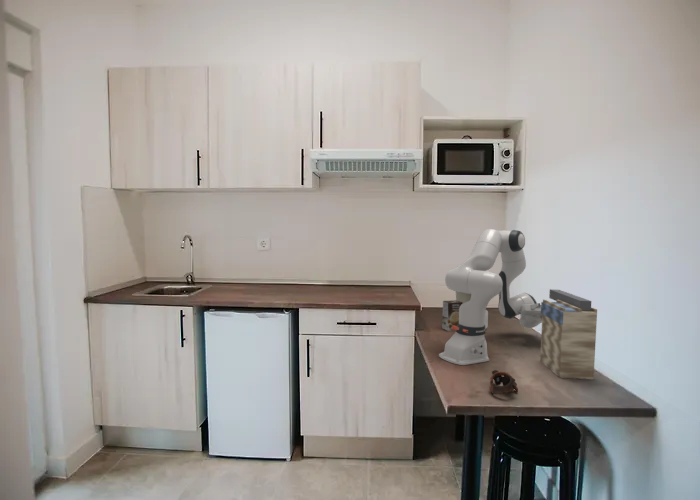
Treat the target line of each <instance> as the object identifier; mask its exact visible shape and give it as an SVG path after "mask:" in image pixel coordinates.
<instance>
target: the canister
mask: <svg viewBox="0 0 700 500" xmlns="http://www.w3.org/2000/svg"><path fill="white" fill-rule="evenodd" d="M470 299H471V294H468V293H461V292H456V291H455V300H457V301H460V302H463V303H465V302H467V301H470Z"/></svg>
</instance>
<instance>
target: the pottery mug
mask: <svg viewBox="0 0 700 500" xmlns="http://www.w3.org/2000/svg"><path fill="white" fill-rule="evenodd" d="M489 380H490V382H489V384H490V386H489V391H490V393H491V392H493V394H494V393H495V394H500V395H501V394H504V395H505V394H507V393H510V392H513V393H515V392H516V391H517V392H519V388H518V387H517V386H518V384H517V382H516V379H515V378H514V377H513V376H512V375H511V374H510V373H509V372H506V371H499V370H497V369H493V370H492V371H491V376H490V379H489ZM501 384H502V385H501ZM514 389H515V390H516V391H515V390H514Z"/></svg>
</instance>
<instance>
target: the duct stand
mask: <svg viewBox="0 0 700 500" xmlns="http://www.w3.org/2000/svg"><path fill="white" fill-rule="evenodd" d="M540 305H541V314H542V323H541V338H540V355H539V356H540V358H539V359H540V360H539V361H540V362H541V363H542V364H543V365H544V366H546V367H547V368H548V369H549V370H550V371H552V372H553V373H554V374H556V376H558V378H561V379H576V378H586V379H585V380H594V377H595V360H596V359H595V358H596V357H595V356H596V342H597V341H596V340H597V321H598V309H596V308H594V307H592V306H591V311H582V309H580V308H578V307H575V306H573V305H570V304H568V303H566V302H563V301H561V300H556V301H549V300H547V299H544V298H543V299H542V301H541V303H540Z"/></svg>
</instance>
